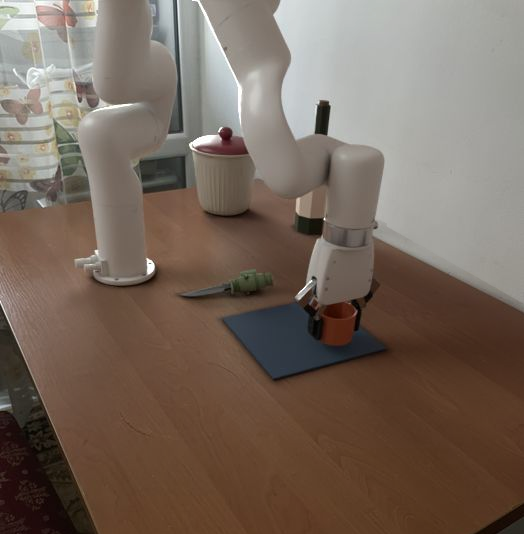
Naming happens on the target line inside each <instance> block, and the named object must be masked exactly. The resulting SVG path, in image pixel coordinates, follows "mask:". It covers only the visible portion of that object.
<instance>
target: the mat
mask: <svg viewBox="0 0 524 534" xmlns="http://www.w3.org/2000/svg"><path fill="white" fill-rule="evenodd" d="M311 299H312V298H309V299H308V303H310V301H311ZM308 319H309V314H308V313H307V312H306V311H305V310H304V309H302V308H301V306H300V305H299V304H298V303H297V302H296V301H295V302H290V303H286V304H281V305H277V306H270V307H267V308H261V309H258V310H257V309H256V310H252V311H247V312H243V313H239V314H233V315H228V316H224V317H221V320H222V322H223V323H224V324H225V325H226V327H228V329H229V330H230V331H231V332H232V333H233V334H234V336H235V337H236V338H237V339H238V341H240V343H241V344H242V345H243V347H244V348H245V349H246V350H247V351H248V352H249V353H250V354H251V356H252V357H253V358H254V359H255V360H256V362H257V363H258V364H259V365H260V366H261V367H262V369H263V370H264V371H265V372H266V373H267V374H268V376H269V377H270V378H271V379H272V380H273V381H276V380H280V379H283V378H288V377H292V376H295V375H298V374H302V373H306V372H309V371H313V370H317V369H320V368H324V367H329V366H332V365H335V364H339V363H342V362H346V361H350V360H353V359H357V358H361V357H364V356H369V355H373V354H375V353H380V352H383V351H386V350H387V347H386V346H385V345H384V344H382V343H381V342H380V340H378V339H376V338H375V337H374V336H373V335H371V333H369V332H368V331H367V330H366V329H364V328H363V327H362V326H361V325H359V330H358V331H354V335H353V339H352V340H351V342H349V343H348V344H345V345H340V346H332V345H327V344H324V343H321V342H319V341H317V340H315V339H314V338H313V337H312V336H311V335H310V334H309V333H308V330H307V327H308Z"/></svg>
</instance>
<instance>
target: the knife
mask: <svg viewBox="0 0 524 534" xmlns="http://www.w3.org/2000/svg"><path fill="white" fill-rule="evenodd" d="M239 273H240V276H239V277H237V278H233V279H229V280H228V283H221V284H219V285H213V286H209V287H204V288H200V289H197V290H192V291H188V292H184V293H179V295H180V296H182V297H191V298H193V297H204V296H209V295H214V294H220V293H224V292H227V291H230V292H231V294H232V295H234V294H235V293H238V292H240V293H246V294H247V295H250V292H251V293H252V292H255V291H257V290H262V289H265V288H266V287H274V278H273V273H272V272H265V274H264V273H258V271H257V270H256V268H253V269H247V270H242V271H239Z"/></svg>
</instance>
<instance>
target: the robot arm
mask: <svg viewBox="0 0 524 534" xmlns="http://www.w3.org/2000/svg"><path fill="white" fill-rule="evenodd" d="M193 1H195V2H198V4H199V6H200V8H201V10H202V12H203V15H204V16H205V19H206V21H207V24H208V25H209V27H210V30H211V31H212V34H213V36H214V37H215V39H216V41H217V43H218V45H219V47H220V50H221V52H222V54H223V56H224V57H225V60H226V62H227V64H228V67H229V69H230V70H231V72H232V74H233V77H234V79H235V81H236V83H237V87H238V114H239V115H238V116H239V124H240V125H239V126H240V132H241V137H243V140H244V143H245V146H246V148H247V150H248V152H249V155H250V157H251V159H252V161H253V163H254V165H255V167H256V171H257V173H258V175H259V176H260V177H261V180H262V181H263V183H264V184H265V186H266V187H267V188H268V189H269V191H271V193H272V194H274V195H276V196H277V197H279V198H281V199H284V200H297V198H299V197H302V196H304V195H306V194H307V193H309V192H311V191H313V190H315V189H318V188H322V187H328V189H327V198H326V207H325V216H324V223H323V232H322V234H321V237H319V238H317V239H316V241H315V244H314V247H313V250H312V253H311V256H310V259H309V264H308V269H307V274H306V281H305V286H304V287H303V288H302V289H301V290H300V291H299V292H298V293H297V294H296V295H295V296H294V301H295V302H297V303H298V304H299V305H300V306H301V308H302V309H304V310H305V311H306V312H307V313H308V314H309V319H308V327H307V330H308V333H309V334H310V335H311V336H312V337H313V338H314V339H315V340H317V341H318V340H320V339H321V336H322V328H323V319H322V318H321V316H322V315H323V313H324V311H325V309H326V307H327V306H328V305H330V304H335V303H340V302H344V301H345V302H349V301H350V302H349V303H350V304H352V305H353V306H354V307H355V308H356V310H357V317H356V323H355V329H354V331H358V330H359V326H360V323H361V319H362V313H363V311H364V310H366V308H367V304H368V303H369V302H370V300H371V299H372V298H373V296H374V294H375V293H376V292H377V291H378V290H379V288H380V287H381V285H382V284H381V282H380V281H379V280H378V279H377V278H376V277H375V276H373V275H374V264H375V242H374V239H373V234H374V230H377V229H378V228H379V223H378V221H377V220H376V216H377V209H378V204H379V200H380V199H379V198H380V192H381V187H382V181H383V174H384V169H385V155H384V154H383V152H382V151H381V150H380V149H378V148H377V147H374V146H370V145H366V144H365V145H364V144H353V143H352V144H351V143H348V142H344V141H342V140H340V139H337V138H335V137H332V136H330V135H327V136H326V135H322V134H313V133H312V134H309V135H306V136H303V137H299V138H297V139H296V138H295V136H294V134H293V132H292V130H291V127H290V125H289V123H288V120H287V118H286V114H285V111H284V106H283V101H282V91H283V90H282V89H283V84H284V80H285V77H286V75H287V72H288V70H289V68H290V66H291V64H292V63H291V62H292V54H291V51H290V48H289V46H288V44H287V42H286V39H285V38H284V35H283V33H282V31H281V29H280V26H279V24H278V23H277V20H276V18H275V16H274V15H275V14H276V12H278V11H277V10H278V9H279V6H280V5H281V0H193ZM97 2H98V3H97V15H96V22H95V23H96V24H95V25H96V26H95V33H94V45H93V54H92V55H93V56H92V66H91V67H92V68H91V81H92V82H91V83H92V87H93V91H94V93H95V94H96V96H97V98H98V99H99V100H101V101H102V102H103V103H105V104H107V105H112V106H107V107H102V108H97V109H95V110H92V111H90V112H88V113H87V114H86V115H84V116H83V117H82V119H81V120H80V121H79V123H78V126H77V131H76V137H77V142H78V146H79V150H80V153H81V156H82V158H83V162H84V166H85V169H86V175H87V178H88V184H89V185H88V186H89V192H90V199H91V207H92V215H93V222H94V231H95V239H96V246H97V249H95V250H94V251H93V253H94V254H93V255H90V256H89V257H85V258H84V257H82V258H75V259H74V266H75V269H76V270H78V269H80V270H81V269H83V270H84V272H85V273H86V272H92V276H93V277H94V279H95V280H97V281H98V282H99V283H102V284H105V285H110V286H120V287H121V286H133V285H137V284H142V283H144V282H146V281H148V280H150V279H151V278H153V277H154V275H155V274H156V265H155V263H154V262H153V261H152V260H151V259H149V258H148V251H147V239H146V227H145V211H144V201H143V200H144V199H143V198H144V197H143V189H142V188H143V187H142V184H141V181H140V178H139V176H138V175H137V173H136V171H135V169H134V167H133V165H132V162H133V161H135V160H138V159H141V158H144V157H148V156H151V155H153V154H156V153H158V152H159V151H160V150H161V149H162V148H163V147H164V145H165V143H166V140H167V138H168V134H169V131H170V125H171V120H172V115H173V109H174V105H175V100H176V94H177V88H178V70H177V64H176V61H175V58H174V56H173V54H172V53H171V51H170V50H169V49H168V48H167V47H166V45H164V44H163V43H161V42H159V41H157V40H153V39H152V35H153V29H154V18H153V10H152V6H151V4H150V1H149V0H97ZM311 297H312V298H311ZM309 299H311V301H310V303H308V300H309ZM317 304H319V306H318V308H317V310H315V308H316V306H317Z"/></svg>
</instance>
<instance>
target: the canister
mask: <svg viewBox="0 0 524 534" xmlns="http://www.w3.org/2000/svg"><path fill="white" fill-rule="evenodd" d="M233 134H234V132H233V129H232V128H231V127H229V126H222V127H220V128H219V130H218V134H209V135H203V136H201V137H198V138H196V139H195V140H194V141H192V142H190V143H189V149H190V150H191V151H192V159H193V160H192V161H193V167H194V177H195V185H196V192H197V197H198V202H199V204H200V207H201V208H202V210H203V211H205V212H207V213H210V214H213V215H217V216H236V215H239V214H243V213H244V212H246V211H247V210H248V208H250V207H249V206H250V204H251V201H252V197H253V190H254V184H255V178H256V171H257V169H256V167H255V165H254V163H253V161H252V159H251V157H250V155H249V152H248V150H247V148H246V146H245V143H244V140H243V136H239V135H233Z"/></svg>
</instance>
